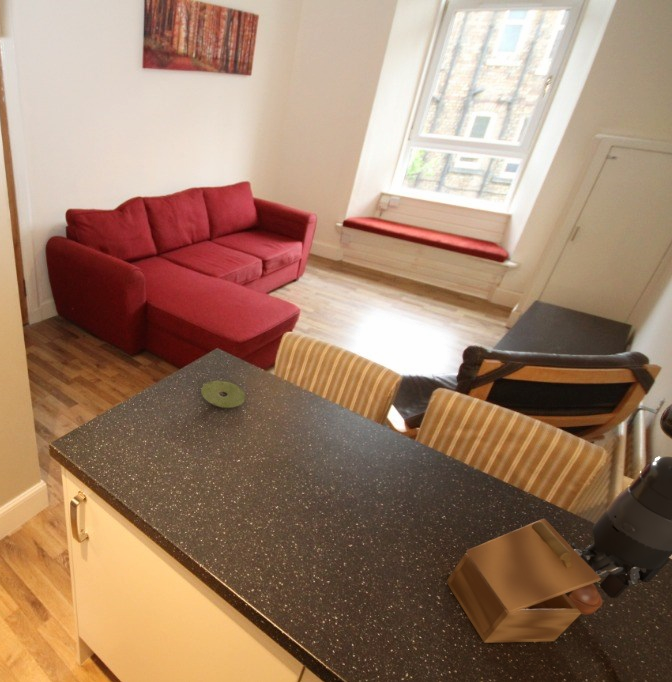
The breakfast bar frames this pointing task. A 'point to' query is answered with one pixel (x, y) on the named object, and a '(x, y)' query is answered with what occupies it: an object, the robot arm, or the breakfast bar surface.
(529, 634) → the breadbox
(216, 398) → the green disc with hole
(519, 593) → the lid
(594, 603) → the mushroom
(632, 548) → the robot arm
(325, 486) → the breakfast bar surface
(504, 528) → the breakfast bar surface
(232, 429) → the breakfast bar surface
